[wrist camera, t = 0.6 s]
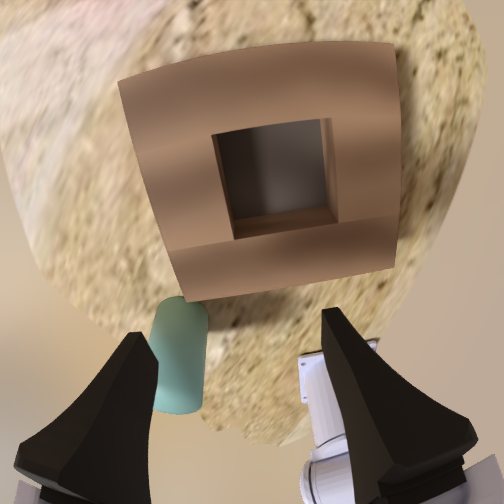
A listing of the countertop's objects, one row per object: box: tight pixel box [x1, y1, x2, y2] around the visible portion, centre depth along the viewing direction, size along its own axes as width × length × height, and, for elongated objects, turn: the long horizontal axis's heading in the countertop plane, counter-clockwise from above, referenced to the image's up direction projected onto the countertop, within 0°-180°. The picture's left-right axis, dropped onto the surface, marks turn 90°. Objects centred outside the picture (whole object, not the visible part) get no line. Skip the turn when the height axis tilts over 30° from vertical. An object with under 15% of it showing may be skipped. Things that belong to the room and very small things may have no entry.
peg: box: [148, 297, 209, 415], centre depth 21 cm, size 4×4×8 cm
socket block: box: [118, 41, 402, 303], centre depth 16 cm, size 14×14×3 cm
